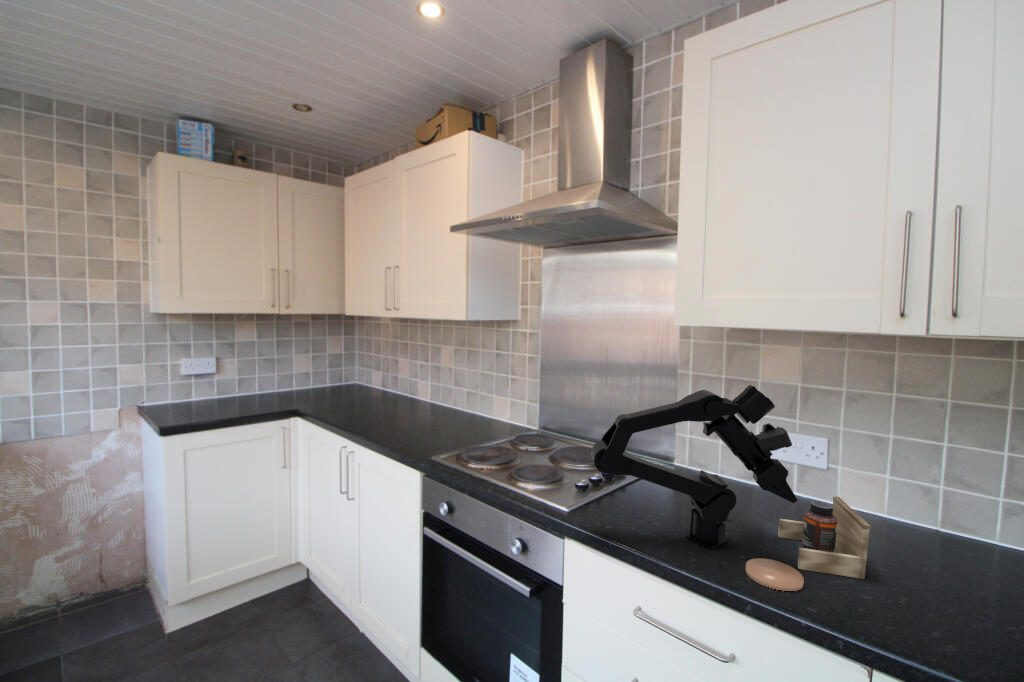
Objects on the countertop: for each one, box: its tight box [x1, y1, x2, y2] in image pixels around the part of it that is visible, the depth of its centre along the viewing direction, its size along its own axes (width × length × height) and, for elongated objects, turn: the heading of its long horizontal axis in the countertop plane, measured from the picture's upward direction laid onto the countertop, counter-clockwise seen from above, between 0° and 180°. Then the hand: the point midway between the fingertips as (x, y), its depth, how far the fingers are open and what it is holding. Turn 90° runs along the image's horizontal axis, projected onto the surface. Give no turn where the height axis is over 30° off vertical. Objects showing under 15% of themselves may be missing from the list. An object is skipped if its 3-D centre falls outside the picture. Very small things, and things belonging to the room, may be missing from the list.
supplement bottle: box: [801, 500, 837, 553], centre depth 104 cm, size 6×6×11 cm
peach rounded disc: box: [745, 557, 805, 592], centre depth 95 cm, size 10×10×1 cm
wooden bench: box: [777, 496, 872, 580], centre depth 104 cm, size 12×15×11 cm
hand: (788, 493), depth 105 cm, fingers open, 9 cm apart
